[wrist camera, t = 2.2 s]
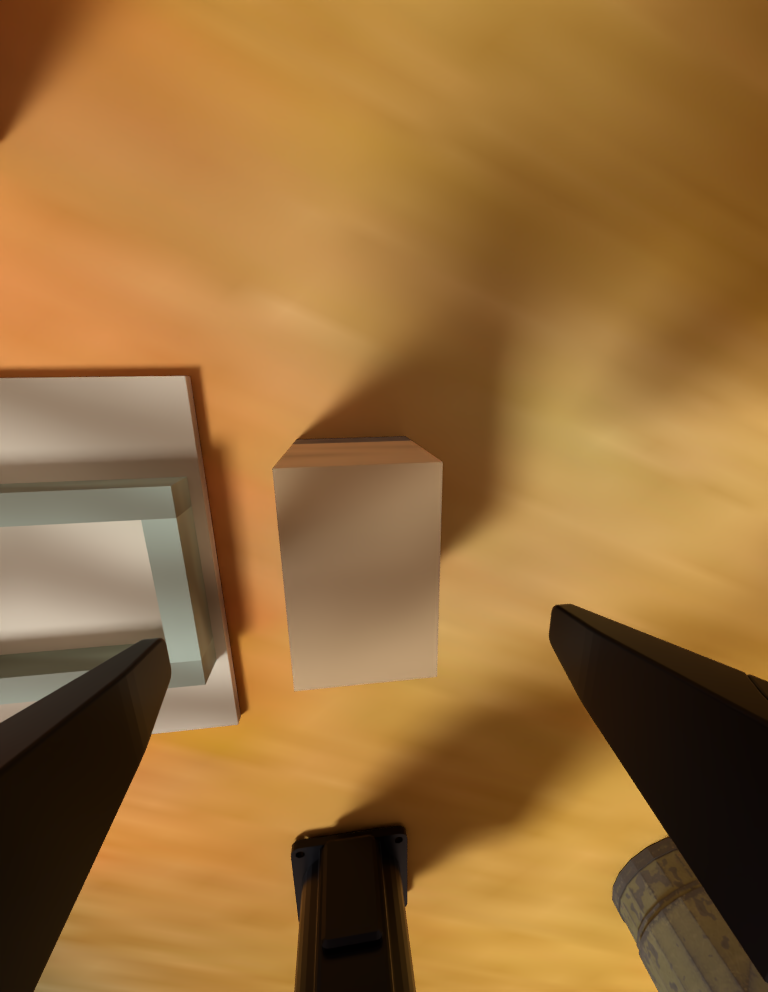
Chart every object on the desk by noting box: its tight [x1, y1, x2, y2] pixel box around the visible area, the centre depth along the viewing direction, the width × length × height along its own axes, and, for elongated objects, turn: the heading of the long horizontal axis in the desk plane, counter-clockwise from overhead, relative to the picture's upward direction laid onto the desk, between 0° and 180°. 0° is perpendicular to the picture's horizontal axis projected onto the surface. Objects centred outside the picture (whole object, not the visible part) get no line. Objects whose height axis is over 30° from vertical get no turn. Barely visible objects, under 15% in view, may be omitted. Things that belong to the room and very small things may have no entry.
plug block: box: [272, 436, 443, 691], centre depth 14 cm, size 7×4×6 cm, turn 1°
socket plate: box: [0, 376, 241, 734], centre depth 15 cm, size 16×12×2 cm
